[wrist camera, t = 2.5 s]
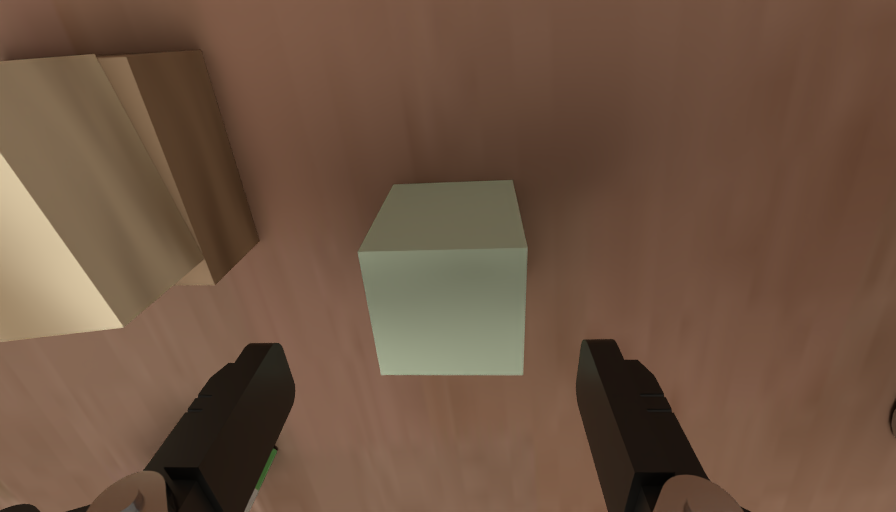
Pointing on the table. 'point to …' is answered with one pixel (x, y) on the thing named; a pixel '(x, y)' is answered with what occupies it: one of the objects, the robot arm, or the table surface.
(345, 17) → the table surface
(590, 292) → the table surface
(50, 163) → the tower top
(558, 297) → the table surface
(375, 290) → the sage block
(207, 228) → the tower base
